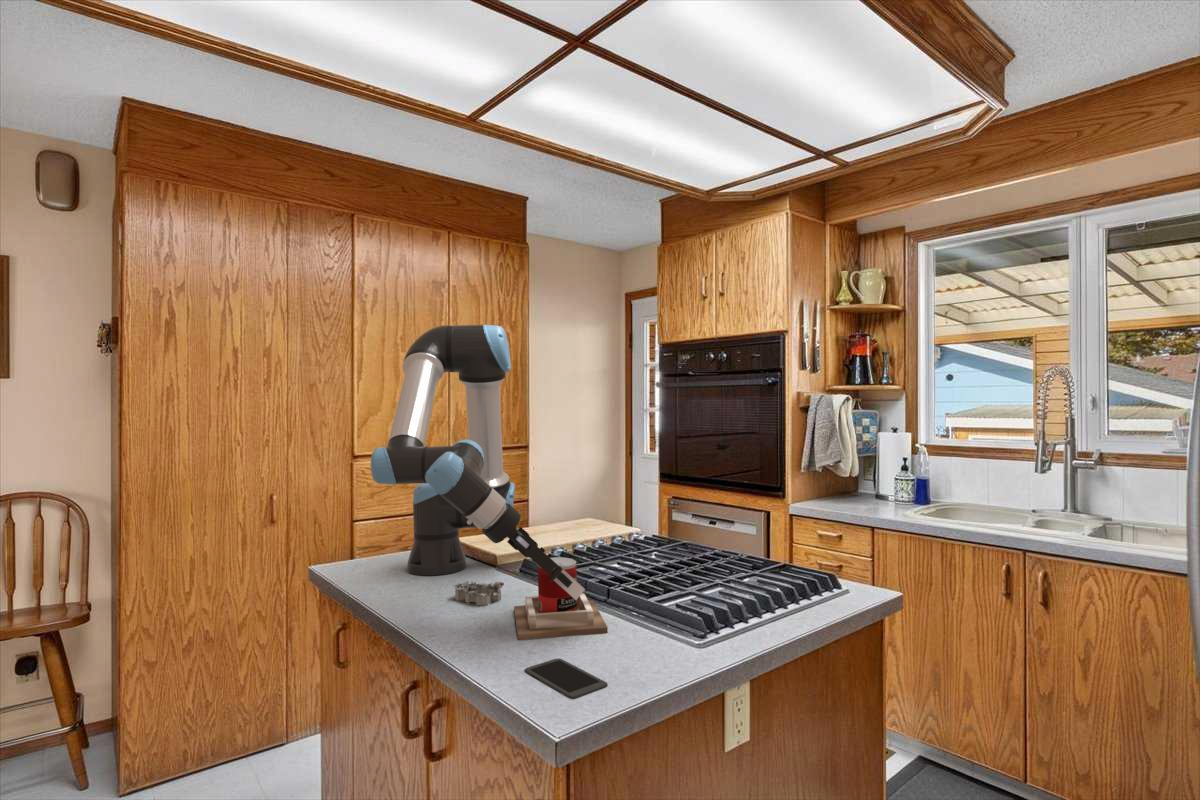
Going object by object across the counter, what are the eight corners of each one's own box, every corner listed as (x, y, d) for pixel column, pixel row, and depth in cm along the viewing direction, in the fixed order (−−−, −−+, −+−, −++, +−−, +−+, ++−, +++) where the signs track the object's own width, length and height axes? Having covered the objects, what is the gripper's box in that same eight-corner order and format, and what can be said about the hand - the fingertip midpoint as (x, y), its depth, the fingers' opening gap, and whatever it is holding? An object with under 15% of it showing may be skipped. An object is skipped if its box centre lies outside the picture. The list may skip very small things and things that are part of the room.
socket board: (514, 610, 142) (513, 594, 142) (593, 605, 145) (592, 589, 145) (518, 639, 125) (518, 621, 125) (607, 632, 128) (607, 614, 128)
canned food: (563, 625, 130) (562, 568, 130) (530, 618, 134) (529, 563, 134) (584, 613, 136) (584, 560, 136) (553, 607, 140) (552, 555, 140)
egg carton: (506, 600, 150) (506, 582, 150) (480, 609, 144) (480, 590, 144) (475, 591, 157) (475, 574, 157) (449, 599, 151) (449, 581, 151)
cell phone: (572, 702, 100) (572, 697, 100) (522, 672, 111) (522, 668, 111) (609, 688, 105) (609, 683, 105) (558, 661, 116) (558, 657, 116)
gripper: (470, 520, 141) (542, 584, 146) (492, 543, 118) (576, 619, 124) (495, 493, 143) (565, 558, 148) (521, 511, 120) (602, 587, 126)
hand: (570, 586), depth 136 cm, fingers open, 11 cm apart
